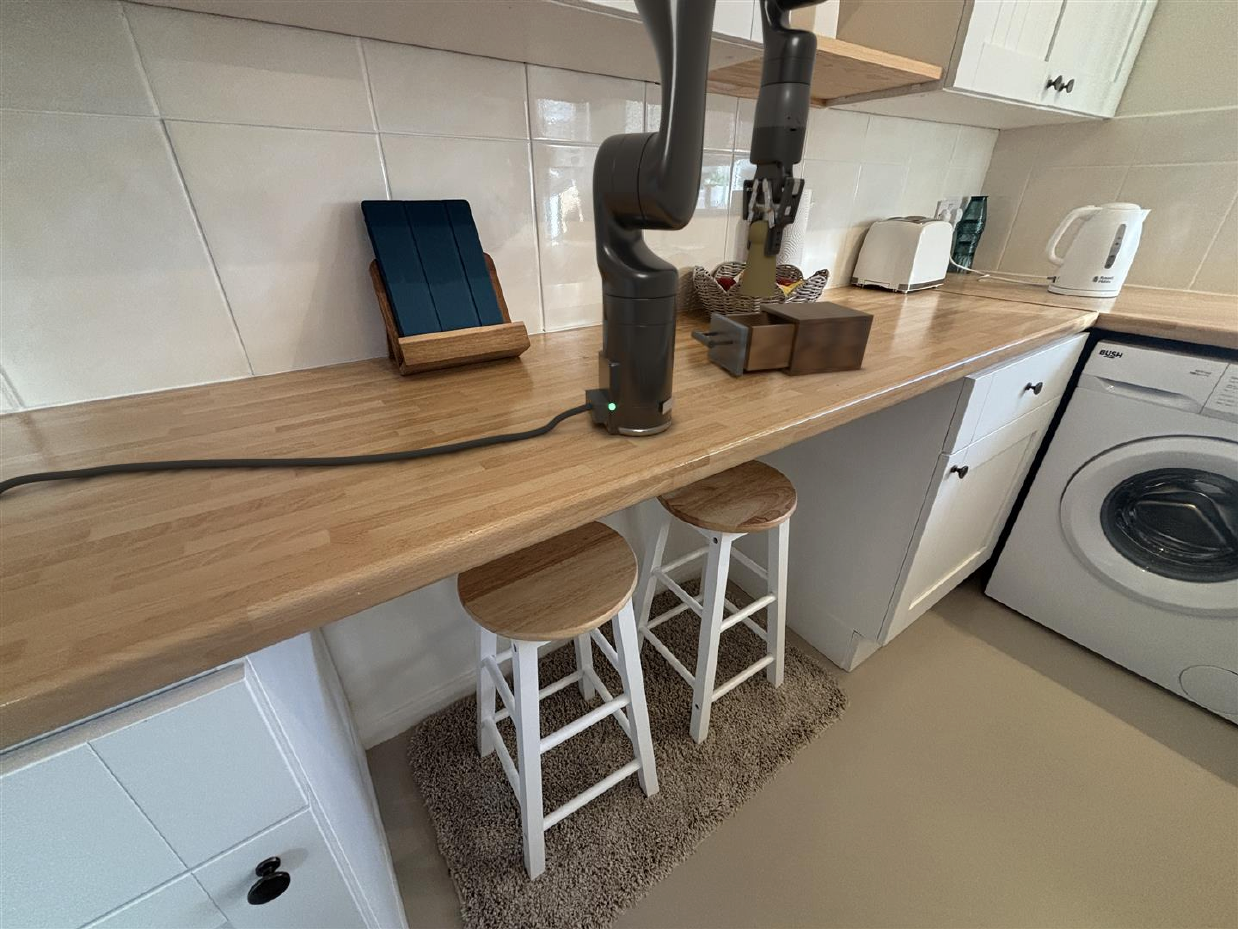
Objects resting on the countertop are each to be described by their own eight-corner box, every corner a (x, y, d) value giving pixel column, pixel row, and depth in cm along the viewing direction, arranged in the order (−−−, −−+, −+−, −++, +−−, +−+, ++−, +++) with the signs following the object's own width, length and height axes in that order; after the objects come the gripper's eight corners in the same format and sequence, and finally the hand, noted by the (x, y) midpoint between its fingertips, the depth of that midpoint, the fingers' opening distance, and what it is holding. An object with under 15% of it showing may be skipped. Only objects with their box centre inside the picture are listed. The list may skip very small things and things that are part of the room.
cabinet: (789, 376, 85) (800, 319, 81) (753, 355, 96) (760, 304, 91) (860, 369, 89) (874, 315, 84) (817, 350, 99) (827, 301, 95)
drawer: (710, 377, 82) (715, 330, 78) (684, 357, 91) (687, 314, 88) (805, 368, 86) (814, 323, 82) (770, 350, 96) (777, 309, 92)
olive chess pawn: (772, 290, 85) (782, 219, 80) (778, 296, 80) (790, 221, 75) (736, 289, 86) (745, 219, 80) (740, 296, 81) (749, 221, 75)
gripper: (733, 130, 77) (721, 248, 85) (784, 119, 65) (764, 258, 73) (775, 131, 78) (760, 247, 87) (833, 121, 66) (808, 256, 75)
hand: (762, 251), depth 80 cm, fingers closed on olive chess pawn, 5 cm apart
